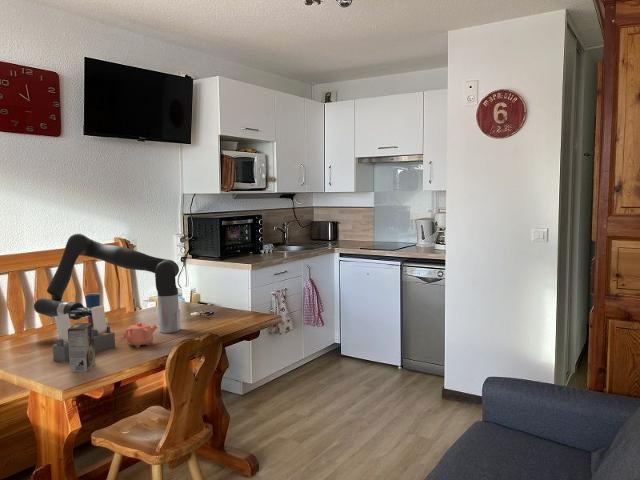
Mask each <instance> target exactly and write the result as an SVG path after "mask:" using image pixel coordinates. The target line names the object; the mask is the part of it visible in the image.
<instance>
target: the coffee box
mask: <svg viewBox="0 0 640 480" xmlns="http://www.w3.org/2000/svg"><path fill="white" fill-rule="evenodd" d="M93 329H94V325H93V323H88V322H77V323H76V322H75V323H74V325H71V327H70V328H69V329H68V341H69V358H70V361H69V370H70V371H69V372H70V373H83V372H89V371H90V369H91V368H93V367H94V366H95V364H96V353H95V350H94V334H93Z"/></svg>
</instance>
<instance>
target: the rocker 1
mask: <svg viewBox="0 0 640 480" xmlns="http://www.w3.org/2000/svg"><path fill="white" fill-rule="evenodd" d="M53 317H54V322H55V326H56V330H57V334H58V339H63V344H65V343H68V342H69V341H68V329H69V328H70V327H72V325H71V321H70V320H71V319H69V315H68V313H67V314H63V315H59V316H53Z"/></svg>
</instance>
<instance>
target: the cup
mask: <svg viewBox="0 0 640 480" xmlns="http://www.w3.org/2000/svg"><path fill="white" fill-rule="evenodd" d="M84 298H85V305H86V306H85V307H87V308H90V309H91V308H92V307H94V306H95V307H98V306H101V305H100V304H101V301H100V300H101V299H100V298H101V293H98V292H96V293H94V292H93V293H87V294H85V295H84ZM87 323H93V318H92V316H89V317H87Z"/></svg>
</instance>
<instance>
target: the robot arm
mask: <svg viewBox="0 0 640 480" xmlns="http://www.w3.org/2000/svg"><path fill="white" fill-rule="evenodd" d="M79 256H82V257H88V258H94V259H98V260H101V261H104V262H106V263H108V264H111V265H114V266H116V267H119V268H123V269H128V270H133V271H134V270H135V271H146V272H149V273H153V274H154V278H155V279H154V280H155V289H156V292H157V310H158V330H159V333H163V334H170V333H178V332H179V331H180V330H181V328H182V326H181V310H180V308H179V307H180V306H179V289H178V287H177V283H176V277H177V276H178V274H179V272H180V268H179V265H178V263H176V261H173V260H172V259H167V258H160V257H157V256H156V257H155V256H152V255H148V254H146V253H143V252H141V251H137V250H134V249H131V248H128V247H125V246H121V245H114V244H113V245H112V244H105V243H101V242H99V241H95V240H94V239H91V238H89V237H87V236H86V235H84V234H82V233H73V234H71V236H69V237H68V239H67V242H66V245H65V247H64V250H63V254H62V256H61V259H60V261H59V265H58V266H57V269H56V271H55V273H54V275H53V277H52V279H51V281H50V282H49V284H48V287H47V289H46V292H47V293H48V294H49V295H51V299H50V298H47V297H41V298H39V299H37V300H36V301H35V302H34V303H33V304H34V305H33V310H34V311H35V312H36V313H37V314H40V315H44V316H46V317H49V318H52V317H55V316H59V315H63V314H67V313H68V315H69V320H73V321H77V320H81V319H82V318H88V317H89V316H92V311H91V309H90V308H87V307H86V306H84V305H83V304H82V303H81V302H78V301H77V302H76V301H75V302H74V301H69V300H68V301H65V300H63V296H64V293H65V291H66V290H67V287H68V286H69V283H70V280H71V277H72V274H73V269H74V267H75V264H76V261H77V260H78V257H79ZM94 307H95V306H94ZM92 308H93V307H92Z"/></svg>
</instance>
